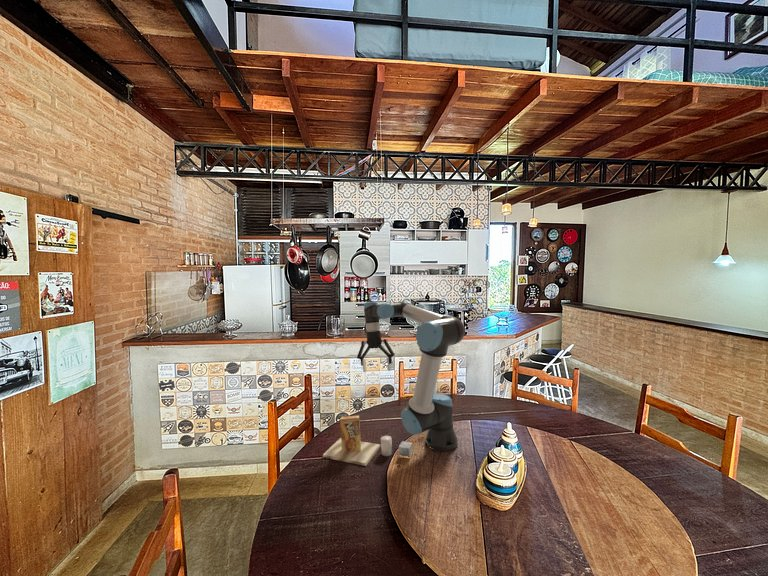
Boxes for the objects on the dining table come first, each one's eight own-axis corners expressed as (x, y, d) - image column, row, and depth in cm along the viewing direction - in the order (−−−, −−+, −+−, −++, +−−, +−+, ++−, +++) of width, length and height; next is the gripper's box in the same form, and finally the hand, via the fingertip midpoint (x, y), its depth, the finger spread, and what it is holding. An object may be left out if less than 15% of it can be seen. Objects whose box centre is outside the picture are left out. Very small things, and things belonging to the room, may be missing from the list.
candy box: (361, 446, 154) (359, 414, 154) (361, 451, 150) (359, 418, 150) (342, 448, 154) (340, 416, 153) (341, 453, 150) (339, 420, 149)
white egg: (393, 451, 151) (393, 436, 151) (389, 457, 146) (389, 441, 146) (384, 449, 153) (383, 435, 153) (379, 455, 148) (379, 440, 148)
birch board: (380, 447, 155) (380, 444, 155) (365, 465, 140) (365, 463, 140) (340, 440, 164) (340, 437, 164) (322, 457, 149) (322, 454, 149)
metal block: (413, 453, 148) (412, 442, 148) (409, 459, 144) (409, 448, 144) (402, 451, 150) (402, 441, 150) (399, 457, 146) (398, 446, 145)
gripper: (397, 328, 173) (401, 368, 171) (353, 332, 179) (357, 370, 178) (394, 329, 166) (398, 371, 164) (348, 333, 172) (352, 373, 170)
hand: (377, 371), depth 171 cm, fingers open, 13 cm apart
